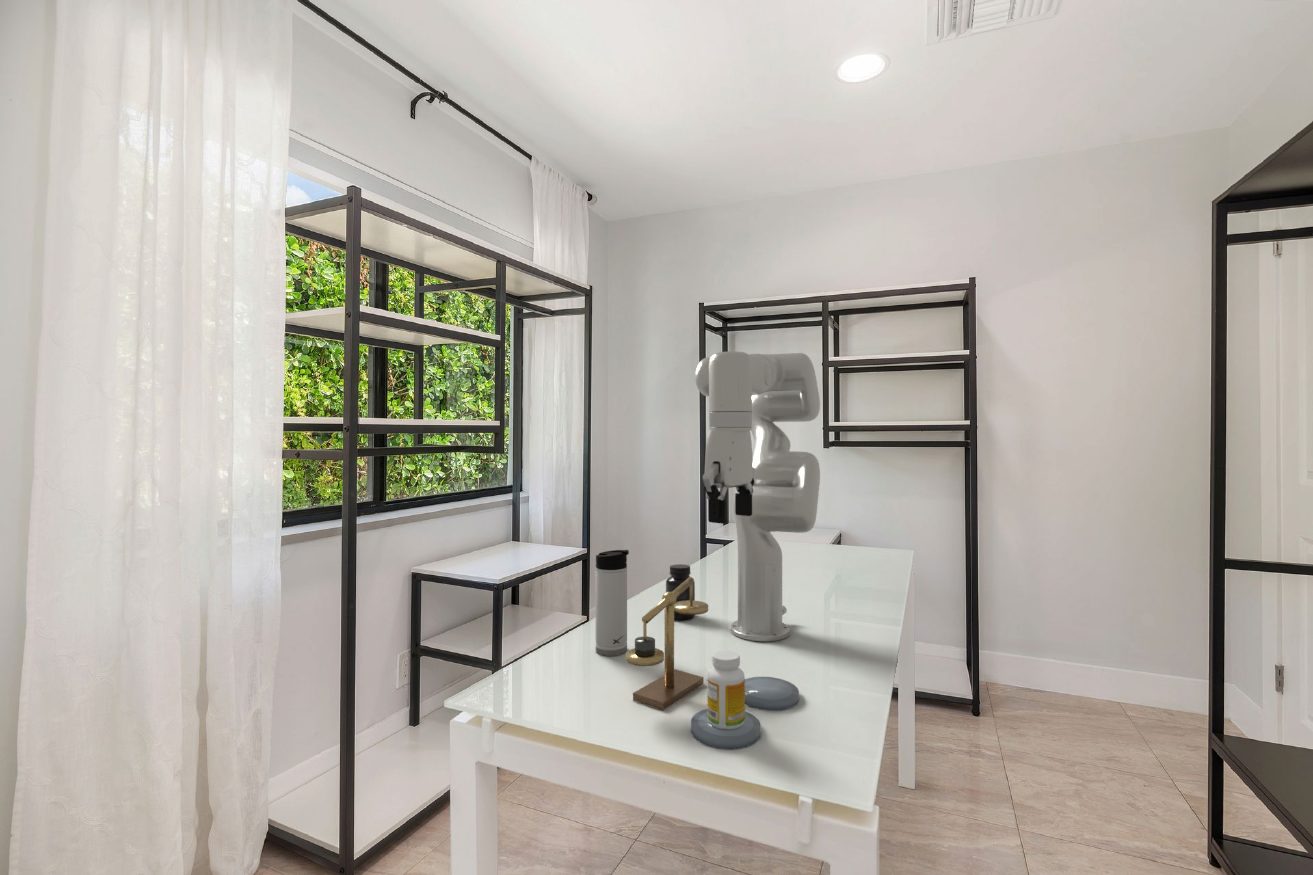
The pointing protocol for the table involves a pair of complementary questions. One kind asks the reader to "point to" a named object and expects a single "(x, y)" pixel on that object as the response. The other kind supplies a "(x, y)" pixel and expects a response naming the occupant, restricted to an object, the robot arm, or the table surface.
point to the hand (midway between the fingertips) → (730, 518)
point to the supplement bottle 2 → (726, 691)
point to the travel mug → (611, 602)
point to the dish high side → (770, 693)
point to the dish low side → (725, 732)
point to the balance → (666, 652)
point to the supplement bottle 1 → (676, 579)
